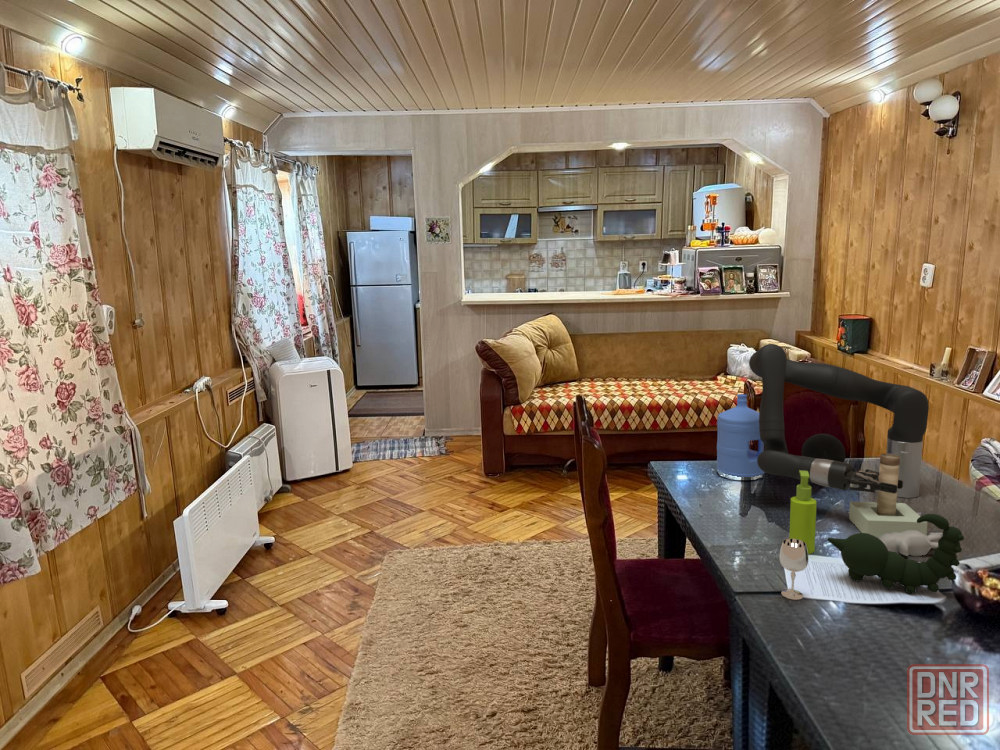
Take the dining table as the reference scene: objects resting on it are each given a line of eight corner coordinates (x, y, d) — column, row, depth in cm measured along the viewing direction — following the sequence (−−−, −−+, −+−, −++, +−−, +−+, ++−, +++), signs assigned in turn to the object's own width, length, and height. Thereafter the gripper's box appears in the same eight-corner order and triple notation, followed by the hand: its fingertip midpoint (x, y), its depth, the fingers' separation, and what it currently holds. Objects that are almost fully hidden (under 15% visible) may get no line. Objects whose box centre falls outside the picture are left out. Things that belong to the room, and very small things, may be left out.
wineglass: (806, 590, 145) (809, 539, 143) (806, 603, 140) (809, 550, 138) (778, 586, 148) (780, 536, 146) (777, 598, 142) (779, 546, 140)
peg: (873, 517, 179) (877, 453, 176) (891, 517, 178) (896, 453, 175) (879, 523, 174) (884, 458, 171) (897, 524, 173) (903, 458, 170)
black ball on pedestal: (848, 476, 220) (851, 432, 218) (837, 486, 211) (840, 441, 208) (807, 469, 229) (809, 427, 227) (795, 479, 219) (796, 435, 217)
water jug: (714, 479, 221) (716, 398, 217) (718, 466, 236) (719, 389, 231) (764, 483, 215) (766, 400, 211) (764, 469, 230) (767, 391, 225)
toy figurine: (946, 592, 146) (822, 563, 157) (962, 512, 142) (834, 488, 153) (953, 612, 137) (821, 580, 148) (970, 528, 134) (834, 502, 145)
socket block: (849, 518, 184) (850, 501, 184) (903, 520, 182) (904, 503, 181) (866, 538, 171) (868, 520, 170) (926, 540, 168) (927, 522, 167)
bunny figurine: (871, 528, 168) (936, 524, 165) (872, 547, 169) (937, 543, 165) (885, 543, 159) (954, 539, 155) (886, 563, 159) (955, 559, 156)
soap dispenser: (812, 544, 169) (815, 469, 166) (815, 555, 162) (819, 477, 159) (787, 541, 171) (790, 467, 167) (789, 552, 164) (792, 476, 161)
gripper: (822, 466, 179) (892, 480, 167) (841, 455, 189) (908, 467, 177) (820, 493, 180) (890, 508, 168) (839, 480, 190) (906, 493, 178)
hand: (899, 487), depth 172 cm, fingers closed on peg, 4 cm apart
